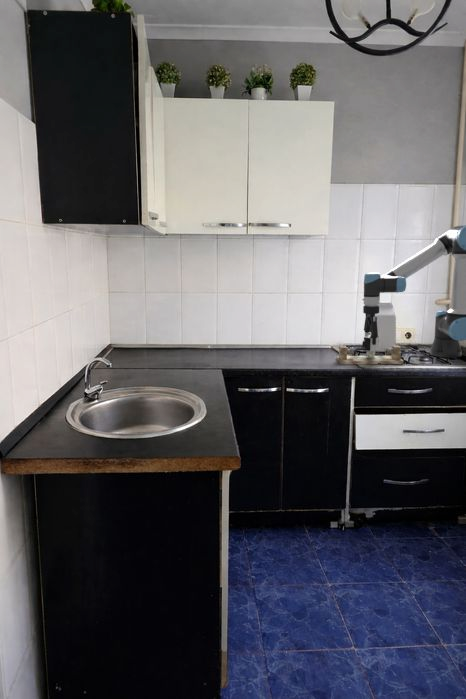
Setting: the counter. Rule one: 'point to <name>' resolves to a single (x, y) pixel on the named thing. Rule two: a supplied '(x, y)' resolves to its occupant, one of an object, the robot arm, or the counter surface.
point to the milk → (386, 326)
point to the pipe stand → (363, 360)
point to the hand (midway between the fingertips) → (370, 348)
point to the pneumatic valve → (367, 347)
